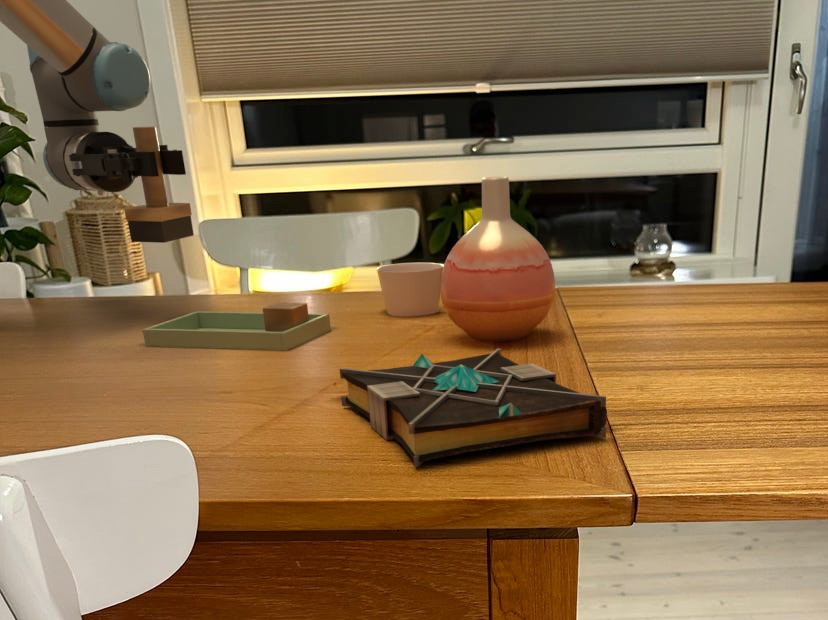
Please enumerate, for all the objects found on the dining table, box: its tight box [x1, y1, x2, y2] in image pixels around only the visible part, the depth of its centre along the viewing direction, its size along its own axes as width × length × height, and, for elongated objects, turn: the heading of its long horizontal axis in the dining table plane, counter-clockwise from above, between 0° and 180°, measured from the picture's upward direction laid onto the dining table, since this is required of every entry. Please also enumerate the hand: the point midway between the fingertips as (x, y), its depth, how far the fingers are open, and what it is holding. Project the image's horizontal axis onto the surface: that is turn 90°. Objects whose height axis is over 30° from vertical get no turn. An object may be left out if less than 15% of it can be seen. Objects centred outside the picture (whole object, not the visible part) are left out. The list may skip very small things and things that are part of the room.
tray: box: [142, 310, 332, 352], centre depth 118 cm, size 19×12×3 cm, turn 73°
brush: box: [123, 126, 195, 244], centre depth 123 cm, size 5×7×13 cm
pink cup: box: [376, 262, 444, 318], centre depth 130 cm, size 9×9×6 cm
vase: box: [440, 176, 556, 343], centre depth 112 cm, size 14×14×18 cm
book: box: [339, 348, 608, 468], centre depth 83 cm, size 22×17×5 cm
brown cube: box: [262, 302, 309, 332], centre depth 116 cm, size 4×4×4 cm
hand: (167, 163), depth 117 cm, fingers closed on brush, 3 cm apart
